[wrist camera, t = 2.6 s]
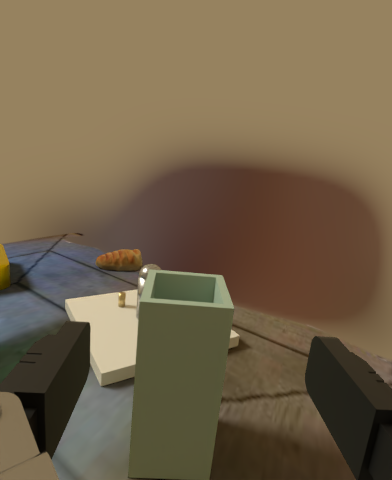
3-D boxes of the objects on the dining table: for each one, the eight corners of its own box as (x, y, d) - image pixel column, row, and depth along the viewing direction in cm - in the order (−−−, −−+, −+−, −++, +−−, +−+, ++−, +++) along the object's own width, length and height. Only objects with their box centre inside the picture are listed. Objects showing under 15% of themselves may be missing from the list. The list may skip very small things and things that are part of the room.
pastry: (97, 273, 61) (98, 255, 60) (93, 262, 67) (94, 245, 66) (144, 271, 65) (145, 253, 64) (136, 261, 71) (137, 245, 70)
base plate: (237, 345, 41) (247, 281, 39) (100, 386, 31) (103, 303, 29) (173, 292, 56) (177, 243, 54) (65, 309, 46) (65, 249, 44)
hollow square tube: (209, 480, 23) (234, 308, 20) (128, 477, 23) (139, 301, 20) (202, 403, 31) (220, 268, 27) (141, 400, 30) (151, 263, 27)
